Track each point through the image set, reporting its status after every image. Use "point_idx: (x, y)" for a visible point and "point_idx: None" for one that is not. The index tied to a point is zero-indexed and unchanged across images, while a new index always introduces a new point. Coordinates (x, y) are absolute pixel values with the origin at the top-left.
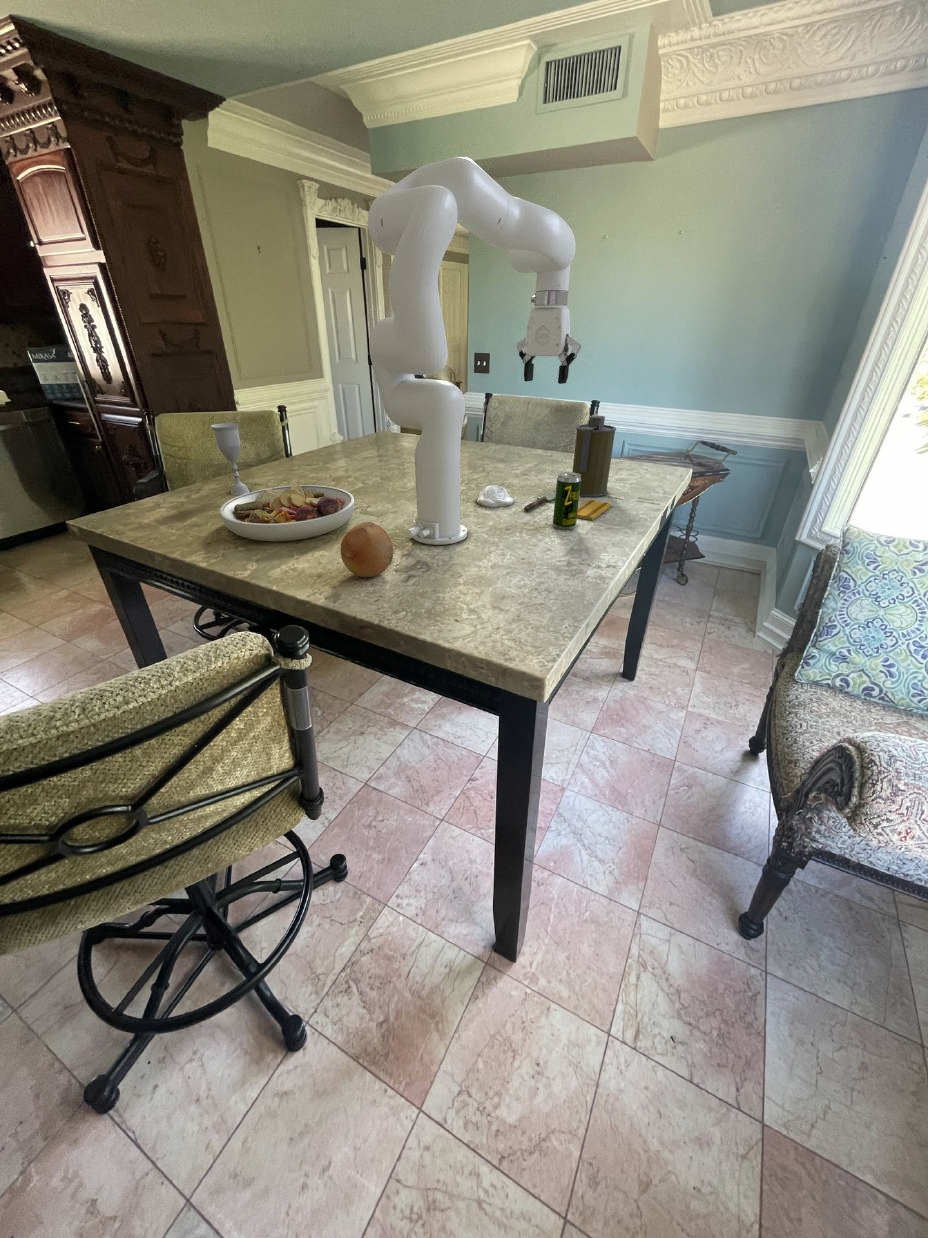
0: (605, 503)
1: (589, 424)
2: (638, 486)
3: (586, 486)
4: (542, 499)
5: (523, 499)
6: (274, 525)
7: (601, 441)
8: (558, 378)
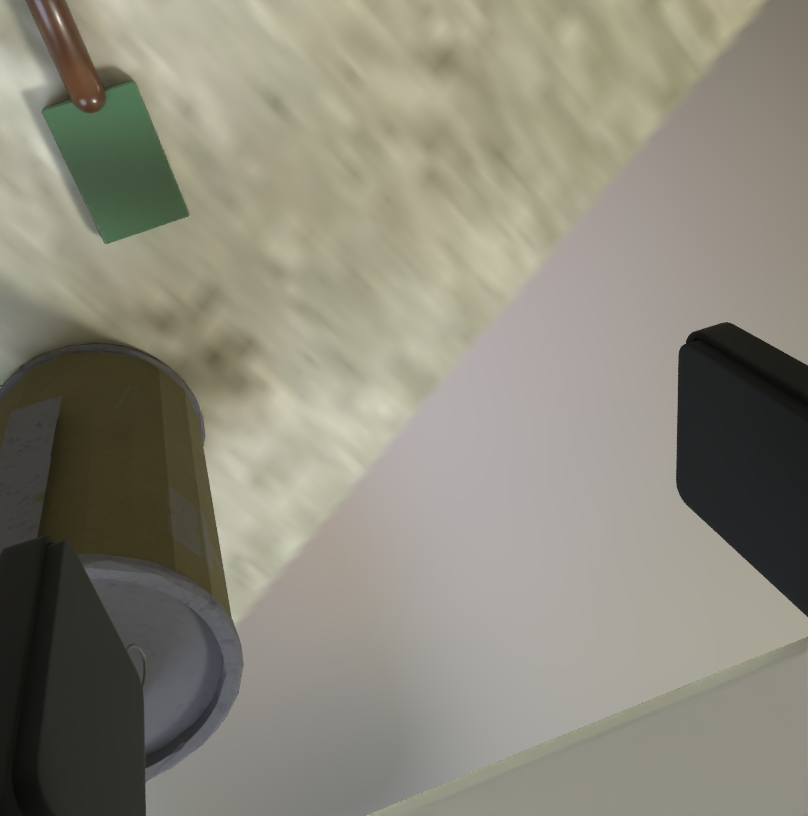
0: None
1: None
2: None
3: (24, 387)
4: (49, 45)
5: (197, 18)
6: None
7: None
8: (49, 582)
